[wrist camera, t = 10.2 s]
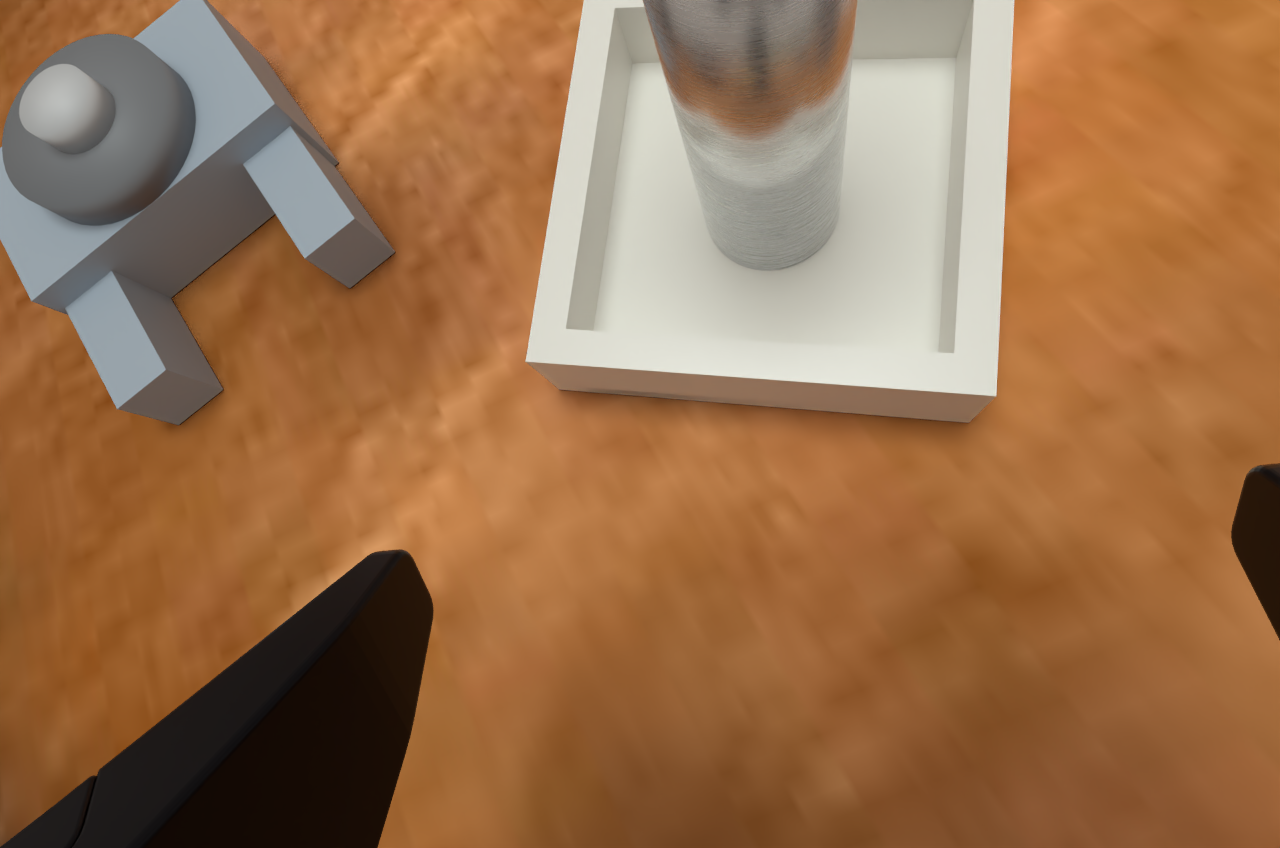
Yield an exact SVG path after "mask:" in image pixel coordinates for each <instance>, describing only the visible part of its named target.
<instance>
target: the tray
mask: <svg viewBox="0 0 1280 848" xmlns="http://www.w3.org/2000/svg"><path fill="white" fill-rule="evenodd" d="M1013 17H1014V0H857V11H856V23H855V35H854V47H853V58H852V70H851V82H850V94H849V106H848V118H847V129H846V141H845V153H844V165H843V177H842V189H841V200H840V212H839V217H838V221H837V224H836V227H835V229H834V231H833V233H832V235H831V237H830V238H829V239H828V241H827V242H826V244H825V245H824V246H823V247H822V248H821V249H820V250H819V251H818V252H817V253H816V254H814V255H813V256H812V257H810V258H809V259H807V260H806V261H804V262H802V263H800V264H798V265H795V266H792V267H789V268H785V269H781V270H773V271H762V270H755V269H751V268H747V267H744V266H742V265H739V264H737V263H735V262H734V261H732V260H730V259H729V258H728V257H726V256H725V255H724V254H723V253H722V252H721V251H720V250H719V249H718V248H717V246H716V245H715V244H714V242H713V240H712V238H711V236H710V234H709V231H708V228H707V225H706V221H705V218H704V214H703V211H702V207H701V204H700V200H699V197H698V193H697V190H696V186H695V183H694V179H693V176H692V172H691V169H690V165H689V162H688V158H687V155H686V151H685V148H684V144H683V141H682V137H681V134H680V130H679V127H678V123H677V119H676V116H675V112H674V109H673V105H672V102H671V98H670V95H669V91H668V88H667V84H666V81H665V77H664V74H663V70H662V67H661V63H660V60H659V56H658V53H657V49H656V46H655V42H654V39H653V35H652V32H651V28H650V24H649V21H648V17H647V14H646V10H645V7H644V3H643V0H584V4H583V10H582V16H581V22H580V28H579V35H578V41H577V47H576V53H575V59H574V66H573V72H572V78H571V84H570V90H569V97H568V103H567V109H566V115H565V121H564V127H563V134H562V140H561V146H560V152H559V158H558V165H557V171H556V177H555V183H554V189H553V196H552V202H551V208H550V214H549V220H548V227H547V233H546V239H545V245H544V251H543V258H542V264H541V270H540V276H539V282H538V289H537V295H536V301H535V307H534V313H533V319H532V326H531V332H530V338H529V344H528V350H527V357H526V362H527V363H528V364H529V365H530V366H532V367H533V368H534V369H535V370H536V371H538V372H539V373H540V374H541V375H542V376H544V377H545V378H546V379H547V380H548V381H550V382H551V383H552V384H553V385H554V386H556V387H557V388H558V389H559V390H570V391H582V392H595V393H607V394H619V395H632V396H644V397H656V398H669V399H681V400H693V401H706V402H718V403H730V404H743V405H755V406H767V407H780V408H792V409H804V410H817V411H829V412H841V413H854V414H866V415H878V416H891V417H903V418H915V419H928V420H940V421H952V422H965V423H969V422H970V421H971V420H972V419H973V418H974V417H976V416H977V415H978V414H979V413H980V412H981V411H982V410H983V409H984V408H985V407H986V406H987V405H988V404H989V403H990V402H991V401H992V400H993V399H994V398H995V397H996V392H997V370H998V348H999V326H1000V304H1001V282H1002V260H1003V238H1004V216H1005V194H1006V171H1007V149H1008V127H1009V105H1010V83H1011V61H1012V39H1013Z"/></svg>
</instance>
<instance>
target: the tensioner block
mask: <svg viewBox="0 0 1280 848" xmlns="http://www.w3.org/2000/svg"><path fill="white" fill-rule="evenodd" d="M338 163H339V162H338V161H337V159H336V158H335V157H334V155H333V154H332V152H331V151H330V149H329V148H328V147H327V145H326V144H325V142H324V141H323V140H322V138H321V137H320V135H319V134H318V133H317V131H316V130H315V128H314V127H313V126H312V124H311V123H310V121H309V120H308V118H307V117H306V116H305V114H304V113H303V111H302V110H301V109H300V107H299V106H298V104H297V103H296V102H295V100H294V99H293V97H292V96H291V95H290V93H289V92H288V90H287V89H286V87H285V86H284V85H283V83H282V82H281V80H280V79H279V78H278V76H277V75H276V73H275V72H274V71H273V69H272V68H271V66H270V65H269V64H268V62H267V61H266V59H265V58H264V57H263V56H262V55H261V54H260V53H259V52H258V51H257V50H256V49H255V48H254V47H253V46H252V45H251V44H250V43H249V42H248V41H247V40H246V39H245V38H244V37H243V36H242V35H241V34H240V33H239V32H238V31H237V30H236V29H235V28H234V27H233V26H232V25H231V24H230V23H229V22H228V21H227V20H226V19H225V18H224V17H223V16H222V15H221V14H220V13H219V12H218V11H217V10H216V9H215V8H214V7H213V6H212V5H211V4H210V3H209V2H208V1H207V0H180V1H179V2H178V3H176V4H175V5H174V6H173V7H171V8H170V9H169V10H168V11H167V12H165V13H164V14H163V15H162V16H161V17H159V18H158V19H157V20H156V21H154V22H153V23H152V24H151V25H150V26H148V27H147V28H146V29H145V30H143V31H142V32H141V33H140V34H139V35H137V36H136V37H135V38H134V39H132V38H130V37H127V36H122V35H116V34H103V35H95V36H90V37H87V38H84V39H81V40H78V41H76V42H73V43H71V44H69V45H67V46H65V47H64V48H62V49H60V50H59V51H57V52H56V53H54V54H53V55H52V56H50V57H49V58H48V59H47V60H45V61H44V62H43V63H42V64H41V65H40V66H39V67H38V68H37V69H36V70H35V71H34V72H33V73H32V74H31V76H30V77H29V78H28V79H27V81H26V82H25V83H24V85H23V86H22V88H21V89H20V91H19V93H18V94H17V96H16V98H15V100H14V102H13V104H12V106H11V108H10V111H9V113H8V116H7V119H6V123H5V127H4V132H3V139H2V147H1V148H0V239H1V241H2V243H3V245H4V247H5V249H6V251H7V253H8V255H9V257H10V259H11V261H12V263H13V265H14V267H15V269H16V271H17V273H18V275H19V277H20V279H21V281H22V283H23V285H24V287H25V289H26V291H27V293H28V295H29V297H30V299H31V301H33V302H35V303H38V304H41V305H43V306H46V307H49V308H51V309H54V310H57V311H59V312H62V313H65V314H67V315H69V317H70V319H71V321H72V323H73V324H74V326H75V328H76V330H77V332H78V334H79V336H80V338H81V340H82V342H83V344H84V346H85V348H86V350H87V352H88V353H89V355H90V357H91V359H92V361H93V363H94V365H95V367H96V369H97V371H98V373H99V375H100V377H101V379H102V381H103V382H104V384H105V386H106V388H107V390H108V392H109V394H110V396H111V398H112V400H113V402H114V404H115V406H116V408H117V409H119V410H123V411H127V412H131V413H134V414H138V415H142V416H146V417H149V418H153V419H157V420H161V421H165V422H168V423H172V424H176V425H180V424H181V423H182V422H183V421H185V420H186V419H187V418H188V417H190V416H191V415H192V414H193V413H195V412H196V411H197V410H198V409H200V408H201V407H202V406H203V405H205V404H206V403H207V402H208V401H210V400H211V399H212V398H213V397H215V396H216V395H217V394H218V393H220V392H221V391H222V390H223V388H222V386H221V384H220V383H219V381H218V379H217V378H216V376H215V374H214V372H213V371H212V369H211V367H210V365H209V364H208V362H207V360H206V358H205V357H204V355H203V353H202V351H201V350H200V348H199V346H198V344H197V343H196V341H195V339H194V337H193V336H192V334H191V332H190V330H189V329H188V327H187V325H186V324H185V322H184V320H183V318H182V317H181V315H180V313H179V311H178V310H177V308H176V306H175V304H174V303H173V301H172V299H171V298H172V297H173V296H174V295H175V294H176V293H178V292H179V291H180V290H181V289H183V288H184V287H185V286H186V285H188V284H189V283H190V282H191V281H193V280H194V279H195V278H196V277H198V276H199V275H200V274H201V273H203V272H204V271H205V270H206V269H207V268H209V267H210V266H211V265H212V264H214V263H215V262H216V261H217V260H219V259H220V258H221V257H222V256H224V255H225V254H226V253H227V252H229V251H230V250H231V249H232V248H234V247H235V246H236V245H237V244H238V243H240V242H241V241H242V240H243V239H245V238H246V237H247V236H248V235H250V234H251V233H252V232H253V231H255V230H256V229H257V228H258V227H260V226H261V225H262V224H263V223H265V222H266V221H267V220H268V219H269V218H271V217H272V216H273V215H274V214H276V215H277V217H278V219H279V220H280V222H281V223H282V225H283V226H284V228H285V229H286V231H287V232H288V234H289V235H290V237H291V238H292V240H293V241H294V243H295V244H296V246H297V247H298V249H299V251H300V252H301V254H302V255H303V257H304V258H305V259H306V260H308V261H309V262H311V263H312V264H314V265H315V266H317V267H318V268H320V269H321V270H323V271H324V272H326V273H327V274H329V275H330V276H332V277H333V278H335V279H336V280H338V281H339V282H341V283H342V284H344V285H345V286H347V287H348V288H351V287H352V286H353V285H355V284H356V283H357V282H358V281H360V280H361V279H362V278H363V277H365V276H366V275H367V274H368V273H370V272H371V271H372V270H373V269H375V268H376V267H377V266H378V265H380V264H381V263H382V262H383V261H385V260H386V259H387V258H389V257H390V256H391V255H392V254H394V253H395V251H394V250H393V248H392V247H391V245H390V244H389V243H388V241H387V240H386V238H385V237H384V236H383V234H382V233H381V231H380V230H379V228H378V227H377V226H376V224H375V223H374V221H373V220H372V219H371V217H370V216H369V214H368V213H367V211H366V210H365V209H364V207H363V206H362V204H361V203H360V202H359V200H358V199H357V197H356V196H355V194H354V193H353V192H352V190H351V189H350V187H349V186H348V185H347V183H346V182H345V180H344V179H343V177H342V176H341V175H340V173H339V172H338V170H337V169H336V168H335V165H336V164H338Z"/></svg>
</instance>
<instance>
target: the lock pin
mask: <svg viewBox="0 0 1280 848" xmlns="http://www.w3.org/2000/svg"><path fill="white" fill-rule="evenodd" d="M643 3H644V7H645V10H646V14H647V17H648V21H649V24H650V28H651V32H652V35H653V39H654V42H655V46H656V49H657V53H658V56H659V60H660V63H661V67H662V70H663V74H664V77H665V81H666V84H667V88H668V91H669V95H670V98H671V102H672V105H673V109H674V112H675V116H676V119H677V123H678V127H679V130H680V134H681V137H682V141H683V144H684V148H685V151H686V155H687V158H688V162H689V165H690V169H691V172H692V176H693V179H694V183H695V186H696V190H697V193H698V197H699V200H700V204H701V207H702V211H703V214H704V218H705V221H706V225H707V228H708V231H709V234H710V236H711V238H712V240H713V242H714V244H715V245H716V246H717V248H718V249H719V250H720V251H721V252H722V253H723V254H724V255H725V256H726V257H728V258H729V259H730V260H732V261H734V262H735V263H737V264H739V265H742V266H744V267H747V268H751V269H755V270H762V271H773V270H781V269H785V268H789V267H792V266H795V265H798V264H800V263H802V262H804V261H806V260H807V259H809V258H810V257H812V256H813V255H814V254H816V253H817V252H818V251H819V250H820V249H821V248H822V247H823V246H824V245H825V244H826V242H827V241H828V239H829V238H830V237H831V235H832V233H833V231H834V229H835V227H836V224H837V221H838V217H839V212H840V200H841V189H842V177H843V165H844V153H845V141H846V129H847V118H848V106H849V94H850V82H851V70H852V58H853V47H854V35H855V23H856V11H857V0H643Z"/></svg>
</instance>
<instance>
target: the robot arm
mask: <svg viewBox="0 0 1280 848" xmlns="http://www.w3.org/2000/svg"><path fill="white" fill-rule="evenodd" d="M1231 538H1232V544H1233V547H1234V551H1235V553H1236V555H1237V557H1238V559H1239V561H1240V563H1241V565H1242V567H1243V569H1244V571H1245V573H1246V575H1247V577H1248V579H1249V581H1250V583H1251V585H1252V587H1253V589H1254V591H1255V593H1256V595H1257V597H1258V599H1259V600H1260V602H1261V604H1262V606H1263V608H1264V610H1265V612H1266V614H1267V616H1268V618H1269V620H1270V622H1271V624H1272V626H1273V628H1274V630H1275V632H1276V634H1277V636H1278V638H1279V640H1280V463H1278V464H1267V465H1259V466H1257V467H1254V468H1252V469H1251V470H1250V471H1249V472H1248V474H1247V475H1246V478H1245V480H1244V484H1243V488H1242V491H1241V495H1240V499H1239V503H1238V506H1237V510H1236V514H1235V518H1234V521H1233V525H1232V531H1231ZM432 621H433V603H432V599H431V596H430V594H429V591H428V589H427V587H426V585H425V583H424V581H423V579H422V577H421V574H420V572H419V570H418V568H417V566H416V564H415V562H414V559H413V558H412V556H411V555H410V554H409V553H408V552H407V551H405V550H389V551H379V552H374V553H372V554H370V555H368V556H367V557H366V558H365V559H363V560H362V561H361V562H360V563H358V564H357V565H356V566H355V567H353V568H352V569H351V570H350V571H348V572H347V573H346V574H345V575H343V576H342V577H341V578H340V579H338V580H337V581H336V582H334V583H333V584H332V585H331V586H329V587H328V588H327V589H326V590H324V591H323V592H322V593H321V594H319V595H318V596H317V597H316V598H314V599H313V600H312V601H311V602H309V603H308V604H307V605H306V606H304V607H303V608H302V609H301V610H299V611H298V612H297V613H296V614H294V615H293V616H292V617H290V618H289V619H288V620H287V621H285V622H284V623H283V624H282V625H280V626H279V627H278V628H277V629H275V630H274V631H273V632H272V633H270V634H269V635H268V636H267V637H265V638H264V639H263V640H262V641H260V642H259V643H258V644H257V645H255V646H254V647H253V648H252V649H250V650H249V651H248V652H246V653H245V654H244V655H243V656H241V657H240V658H239V659H238V660H236V661H235V662H234V663H233V664H231V665H230V666H229V667H228V668H226V669H225V670H224V671H223V672H221V673H220V674H219V675H218V676H216V677H215V678H214V679H213V680H211V681H210V682H209V683H208V684H206V685H205V686H204V687H202V688H201V689H200V690H199V691H197V692H196V693H195V694H194V695H192V696H191V697H190V698H189V699H187V700H186V701H185V702H184V703H182V704H181V705H180V706H179V707H177V708H176V709H175V710H174V711H172V712H171V713H170V714H169V715H167V716H166V717H165V718H164V719H162V720H161V721H160V722H158V723H157V724H156V725H155V726H153V727H152V728H151V729H150V730H148V731H147V732H146V733H145V734H143V735H142V736H141V737H140V738H138V739H137V740H136V741H135V742H133V743H132V744H131V745H130V746H128V747H127V748H126V749H125V750H123V751H122V752H121V753H120V754H118V755H117V756H116V757H114V758H113V759H112V760H111V761H109V762H108V763H107V764H106V765H104V766H103V767H102V768H101V769H100V770H99V772H98V774H97V776H91V777H89V778H88V779H87V780H85V781H84V782H83V783H82V784H80V785H79V786H78V787H77V788H75V789H74V790H73V791H72V792H70V793H69V794H68V795H67V796H65V797H64V798H63V799H62V800H60V801H59V802H58V803H57V804H55V805H54V806H53V807H52V808H50V809H49V810H48V811H46V812H45V813H44V814H42V815H41V816H40V817H39V818H37V819H36V820H35V821H33V822H32V823H31V824H30V825H28V826H27V827H26V828H24V829H23V830H22V831H21V832H19V833H18V834H17V835H15V836H14V837H13V838H11V839H10V840H9V841H8V842H6V843H5V844H4V845H2V846H1V847H0V848H377V847H378V844H379V841H380V837H381V834H382V831H383V827H384V824H385V821H386V817H387V814H388V811H389V807H390V804H391V800H392V797H393V794H394V790H395V787H396V784H397V780H398V777H399V774H400V770H401V767H402V764H403V760H404V757H405V754H406V750H407V746H408V743H409V739H410V735H411V731H412V726H413V722H414V717H415V712H416V707H417V701H418V696H419V691H420V685H421V680H422V674H423V669H424V664H425V658H426V653H427V648H428V642H429V637H430V632H431V626H432Z"/></svg>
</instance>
